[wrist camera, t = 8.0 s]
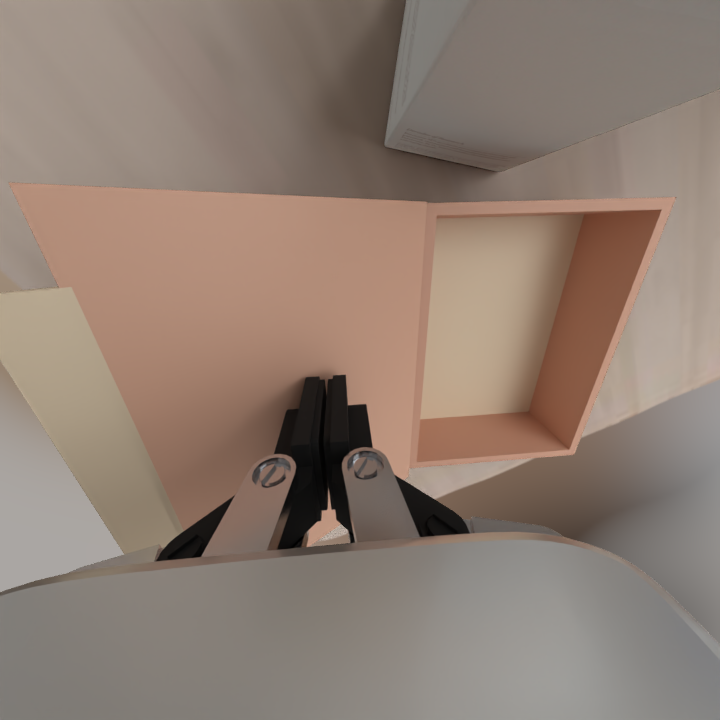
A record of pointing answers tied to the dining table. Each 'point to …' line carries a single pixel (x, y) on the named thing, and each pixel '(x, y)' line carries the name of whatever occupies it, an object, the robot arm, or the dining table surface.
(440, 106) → the supplement box
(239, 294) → the lid
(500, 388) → the box
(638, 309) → the dining table surface
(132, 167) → the dining table surface
